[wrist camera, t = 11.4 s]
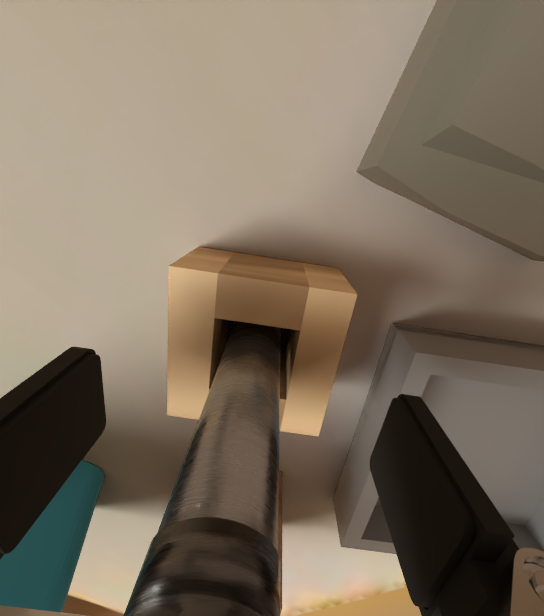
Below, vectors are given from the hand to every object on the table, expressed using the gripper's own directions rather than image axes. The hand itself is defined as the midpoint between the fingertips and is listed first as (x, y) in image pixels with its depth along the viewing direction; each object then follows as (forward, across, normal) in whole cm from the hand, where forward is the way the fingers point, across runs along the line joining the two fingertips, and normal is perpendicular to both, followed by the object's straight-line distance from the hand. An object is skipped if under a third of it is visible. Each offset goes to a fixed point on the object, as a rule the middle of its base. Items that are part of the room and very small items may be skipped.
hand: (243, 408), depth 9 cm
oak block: (+7, 0, 0) cm, 7 cm away
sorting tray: (+7, -14, +6) cm, 17 cm away
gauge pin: (+7, 0, 0) cm, 7 cm away
